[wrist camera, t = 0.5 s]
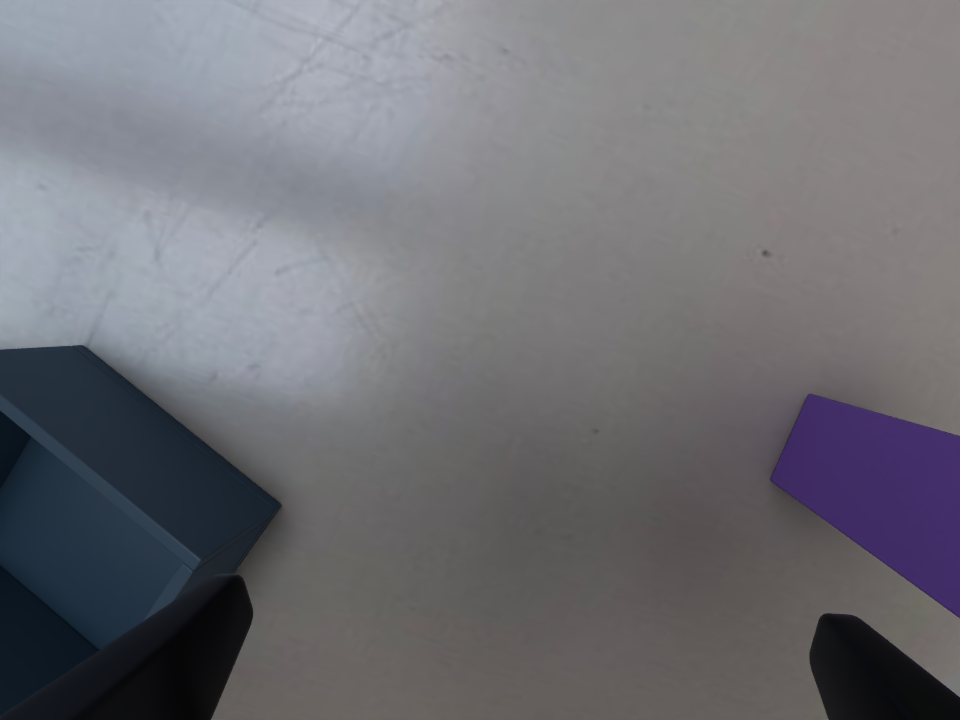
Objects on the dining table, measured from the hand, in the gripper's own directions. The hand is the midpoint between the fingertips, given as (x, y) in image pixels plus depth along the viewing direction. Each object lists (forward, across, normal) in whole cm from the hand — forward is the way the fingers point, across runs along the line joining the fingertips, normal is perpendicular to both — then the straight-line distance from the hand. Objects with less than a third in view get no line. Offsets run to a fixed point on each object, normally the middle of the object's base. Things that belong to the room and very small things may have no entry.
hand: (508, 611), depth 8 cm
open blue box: (+12, +22, +10) cm, 27 cm away
